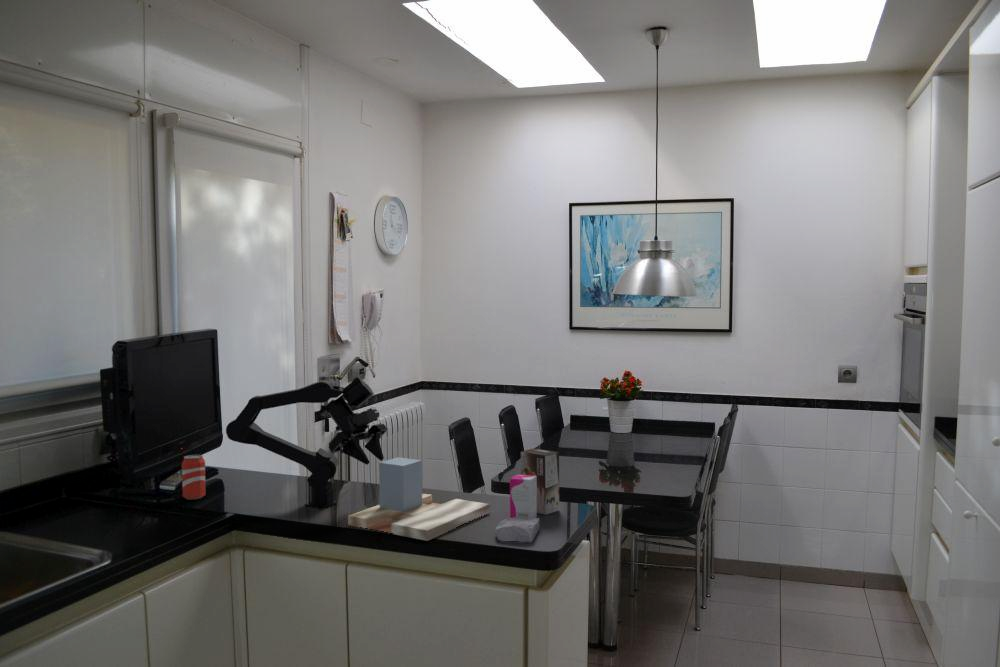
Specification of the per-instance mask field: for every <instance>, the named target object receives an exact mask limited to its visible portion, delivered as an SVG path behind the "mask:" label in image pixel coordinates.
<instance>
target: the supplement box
mask: <svg viewBox="0 0 1000 667" xmlns="http://www.w3.org/2000/svg"><path fill="white" fill-rule="evenodd" d="M537 515H538V513H537V476H533V475H521V474H515V475H514V476H512V477H511V478H509V518H513V517H516V516H526V517H531V518H538V516H537Z"/></svg>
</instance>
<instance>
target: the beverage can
mask: <svg viewBox="0 0 1000 667" xmlns="http://www.w3.org/2000/svg"><path fill="white" fill-rule="evenodd" d="M181 471H182V472H181V474H182V475H181V479H182V487H181V488H182V497H183V498H185V499H186V500H192V501H193V500H200V499H202V498H204V496H206V460H205V459H204V455H202V454H189V455H188V454H187V455H185V456H183V461H182V462H181Z"/></svg>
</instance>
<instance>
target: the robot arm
mask: <svg viewBox="0 0 1000 667" xmlns="http://www.w3.org/2000/svg"><path fill="white" fill-rule="evenodd" d="M374 395H375V392H373V390H372V388H371V387H370V386H369V384H367V382H365V381H364V380H363V379H361V377H360V376H356V377H354V379H353V380H352V381H350V383H349V384H348V385H347V386H345V387H344V386H339V385H335V384H333V382H331V381H330V380H328V379H321V380H318V381H316V382H313V383H310V384H308V385H305V386H304V387H303V386H302V387H301V388H296V389H291V390H286V391H281V392H275V393H269V394H264V395H255V396H252V397H251V398H250V399H249V400H248V402H247V404H246V405H245V406H244V408H243V409H242V410H241V412H240V413H239V414H238V415H237V417H236V418H235V419H233V420H231V421H230V422H229V423H228V424H227V425H226V427H225V433H226V437H227V438H228V439H229V440H231V441H233V442H237V443H241V444H243V445H244V444H246V445H255V446H258V447H259V448H262V449H264V450H267V451H269V452H271V453H274V454H275V455H279V456H281V457H283V458H285V459H287V460H290V461H292V462H294V463H296V464H299V465H301V466H302V467H305V468H306V470H307V471H309V472H310V473H311V474H310V475H309V476H308V477H307V479H306V481H307V484H308V488H307V490H308V493H307V494H308V502H305V503H304V506H306V507H311V506H312V508H316V507H317V508H318V509H324V508H326V507H330V506H332V505H336V504H337V503H338V502H337V501H336V500H334V495H335V494H334V493H335V492H334V487H333V484H334V483H333V482H332V481H331V479H332V478H334V477H335V476H336V473H338V471H339V470H340V469H339V468H340V461H339V459H338V457H336V456H335V455H334V453H338V452H340V454H345V455H347V456H349V457H351V458H352V459H355V460H357V461H358V462H361V463H362V464H364V465H369V464H370V460H369V458H368V456H367V455H366V452H364V450H363V447H362V446H361V445H360V443H361V442H360V441H362V440H363V442H365V443H366V444H365V445H364V448H365V449H366V450H368V452H370V453H371V454H372V455H373V456H374V457H375V458H377V459H378V460H380V462H383V461H384V453H383V451H382V446H381V441H380V439H381V438H382V437H383V436H384V435H385V434H386V433H387V431H388V428H387V426H386V425H385V424H384V423H377V424H372V423H373V422H377V421H378V420H379V418H380V412H379V410H378V409H377V408H376V407H375V406H373V407H369V408H367V409H366V410H364V411H361V412H360V413H359V412H356V413H355V412H354V410H352V408H353V407H357V408H359V407H360V406H362V405H363V404H364V403H365V402H367V401H368V400H369V399H371V397H372V396H374ZM335 398H336V399H335ZM326 402H328V403H327V404H326V405H324V403H326ZM299 403H306V404H309V403H310V404H321V405H320V410H319V411H318V413H319V415H321V416H323V417H326V416H328V415H329V416H330V418H331V419H332V420H333V422H334V423H335V425H336V427H335V428H334V429H335V431H337V433H336V434H335V435H334V436H333V437H332V438H331V439H330V441H329V442H328V448H329V450H330V452H329V451H326V449H323V448H322V447H319V449H317V451H311V450H309V449H307V448H303V447H302V446H299V445H297V444H294V443H292V442H291V441H288V440H285V439H283V438H281V437H279V436H276V435H274V434H272V433H269V432H267V431H265V430H264V429H263V428H261V427H260V426H259V425H258V424H257V423H256V422H255V421H256V420H257V418H258V416H259V415H260V412H261V411H262V410H268V409H272V408H279V407H283V406H289V405H294V404H299ZM370 424H372V425H371V427H370ZM369 427H370V428H369ZM368 428H369V429H368ZM339 431H340V432H339ZM341 448H342V449H341Z"/></svg>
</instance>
